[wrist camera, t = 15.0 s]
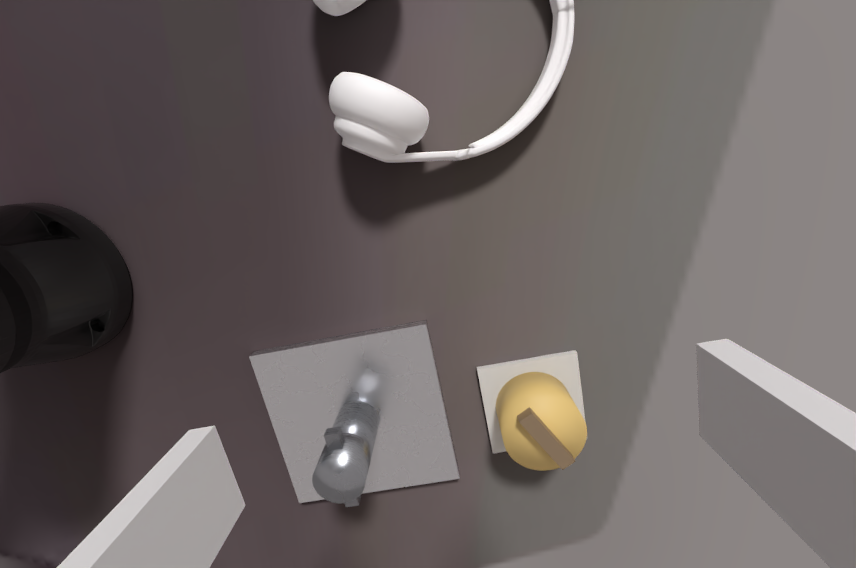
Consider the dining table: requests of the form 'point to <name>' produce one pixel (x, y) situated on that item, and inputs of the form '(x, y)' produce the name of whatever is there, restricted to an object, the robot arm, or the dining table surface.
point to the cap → (540, 422)
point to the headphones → (408, 119)
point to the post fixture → (358, 412)
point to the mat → (501, 373)
